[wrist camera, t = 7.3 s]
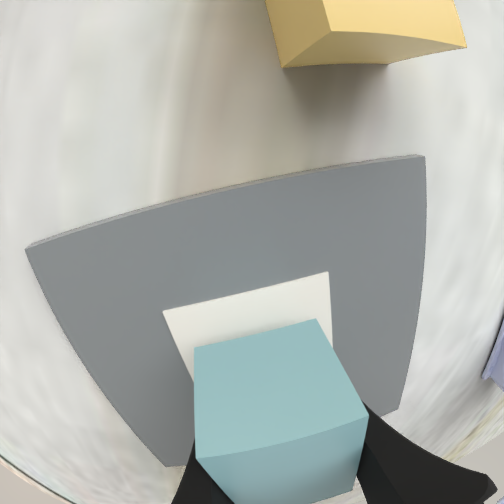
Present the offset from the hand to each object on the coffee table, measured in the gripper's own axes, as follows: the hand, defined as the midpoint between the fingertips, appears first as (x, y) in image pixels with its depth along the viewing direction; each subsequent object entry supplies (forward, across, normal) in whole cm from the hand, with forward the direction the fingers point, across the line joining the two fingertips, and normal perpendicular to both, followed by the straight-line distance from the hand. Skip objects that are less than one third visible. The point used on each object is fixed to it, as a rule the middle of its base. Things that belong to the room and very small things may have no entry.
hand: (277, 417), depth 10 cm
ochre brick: (+4, -5, -15) cm, 16 cm away
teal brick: (+1, 0, 0) cm, 1 cm away
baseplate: (+3, 0, 0) cm, 3 cm away
